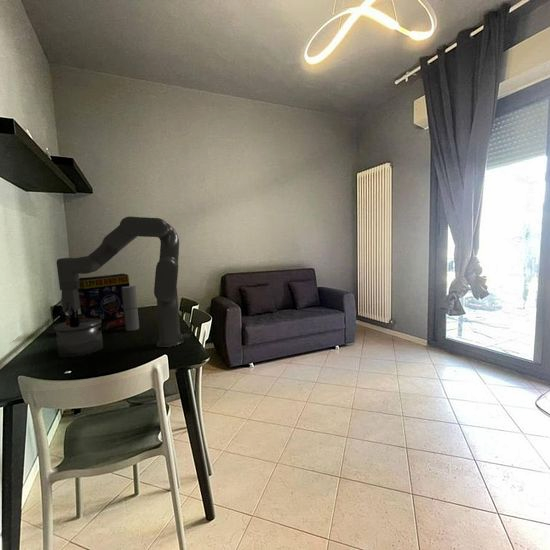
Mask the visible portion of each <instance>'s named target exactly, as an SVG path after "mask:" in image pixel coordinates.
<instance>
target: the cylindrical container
mask: <svg viewBox="0 0 550 550" xmlns="http://www.w3.org/2000/svg"><path fill="white" fill-rule="evenodd" d="M122 294H123V305H124V315H125V325H124V326H125V331H127V332H130V331H131V332H132V331H137V330H139V329H140V321H139V311H138V300H137V290H136V286H135V285H130V286H127V287H122Z"/></svg>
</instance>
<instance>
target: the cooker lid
mask: <svg viewBox="0 0 550 550" xmlns="http://www.w3.org/2000/svg"><path fill="white" fill-rule="evenodd" d="M78 318H79V317H78ZM101 323H102V321H101V319H97V318H90V319H82V317H80V318H79V326H75V327H70V321H69V320H66V321H64V322H61V323H58V324H55V325H54V326H53V330H55V331H75V330H81V329H86V328H90V327H94V326H97V325H99V324H101Z"/></svg>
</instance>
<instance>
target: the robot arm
mask: <svg viewBox="0 0 550 550" xmlns="http://www.w3.org/2000/svg"><path fill="white" fill-rule="evenodd" d="M138 237H143V238H144V237H145V238H146V237H147V238H157V239H159V241H160V247H159V259H158V261H157V263H156V265H155V276H154V285H153V286H154V287H153V294H154V298H155V299H156V306H157V307H156V308H157V321H158V333H159V340H158V341H157V342H156V347H159V348H162V347H168V348H173V347H172V346H174V347H177V346H176V345H178V346H180V345H179V344H181V343H182V344H184V343H185V339H190V338H191V334H190V333H182V332H181V327H180V314H179V304H178V303H179V299H178V286H177V285H178V278H179V277H178V276H179V255H180V239H179V235H178V232H177V231H176V229H175V228H174V227H173V226H172V225H171V224H169V223H168V222H167V221H165V220H164V219H162V218H159V217H143V216H141V217H139V216H125V217H124V218H122V219H121V220H120V222H119V225H118V226H116V227H115V228H114V229H113V230H112V231H110V232H109V233H107V235H105V236H104V238H103V239H102V242H101V243H100V245H99V246H98V247H97V248H96V249H95V250H93V251H92V252H91V253H89V254H88V255H87V256H79V257H75V258H74V257H62V258H58V259H56V267H57V268H56V269H57V277H58V284H59V290H60V291H61V307H62V312H63V314H65V313H67V314H68V321H70V327H75V326H79V311H78V310H80V299H79V292H78V288H80V282H79V278H80V275H79V274H82V275H83V274H84V275H86V274H90V273H94V272H96V271H98V270H99V269H101V268H102V267H103V266H104V265H105V264H107V263H108V262H109V261H110V260H111V259H113V257H115V256H116V255H117V254H119V253H120V252H121V251H122V249H124V248H125V247H126V246H128V244H130V243H131V242H133V241H134V240H135V239H136V238H138ZM183 342H184V343H183ZM182 344H181V345H182Z"/></svg>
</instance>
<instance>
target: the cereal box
mask: <svg viewBox="0 0 550 550" xmlns="http://www.w3.org/2000/svg"><path fill="white" fill-rule="evenodd" d="M79 282H80V288H78V292H79V299H80V308H79V310H80V315H81V317H80V318H82V319H90V318H97V319H101V321H102V323H101V325H102V324H109V327H108V329H107V330H111V329H115V328H119V327H123V326H124V327H125V326H126V325H125V315H124V305H123V294H122V287H127V286H131V285H130V276H129V275H128V274H127V273H117V274H110V275H109V274H108V275H97V276H89V277H88V276H87V277H79ZM103 331H104V330H101V332H103Z"/></svg>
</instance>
